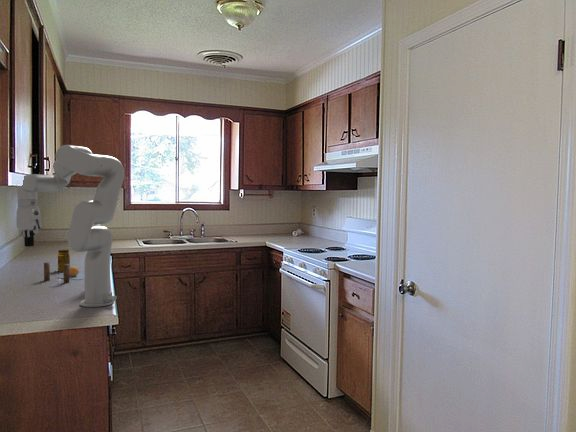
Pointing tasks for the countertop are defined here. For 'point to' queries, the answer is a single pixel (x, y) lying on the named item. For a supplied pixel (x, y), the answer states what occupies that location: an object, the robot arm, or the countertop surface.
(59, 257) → the condiment
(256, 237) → the countertop surface
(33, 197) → the robot arm
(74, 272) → the ball
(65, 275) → the right post
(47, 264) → the left post
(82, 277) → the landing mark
